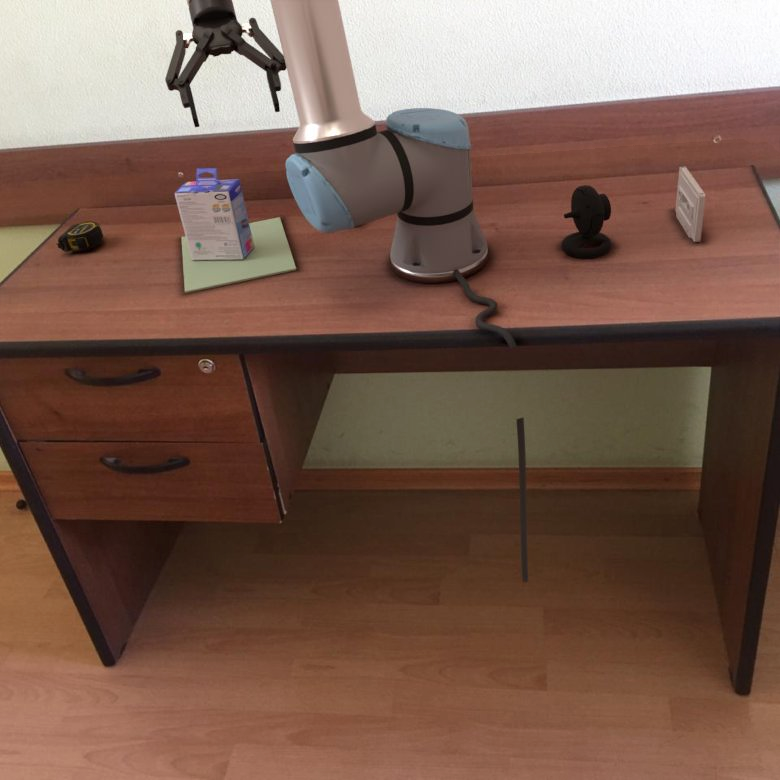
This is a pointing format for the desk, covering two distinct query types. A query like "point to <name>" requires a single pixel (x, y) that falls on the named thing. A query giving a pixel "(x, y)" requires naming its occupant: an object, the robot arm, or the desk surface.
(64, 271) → the desk surface
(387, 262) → the desk surface
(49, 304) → the desk surface
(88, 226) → the tape measure
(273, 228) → the mat
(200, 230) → the ink cartridge box
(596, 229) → the webcam
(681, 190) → the cassette
